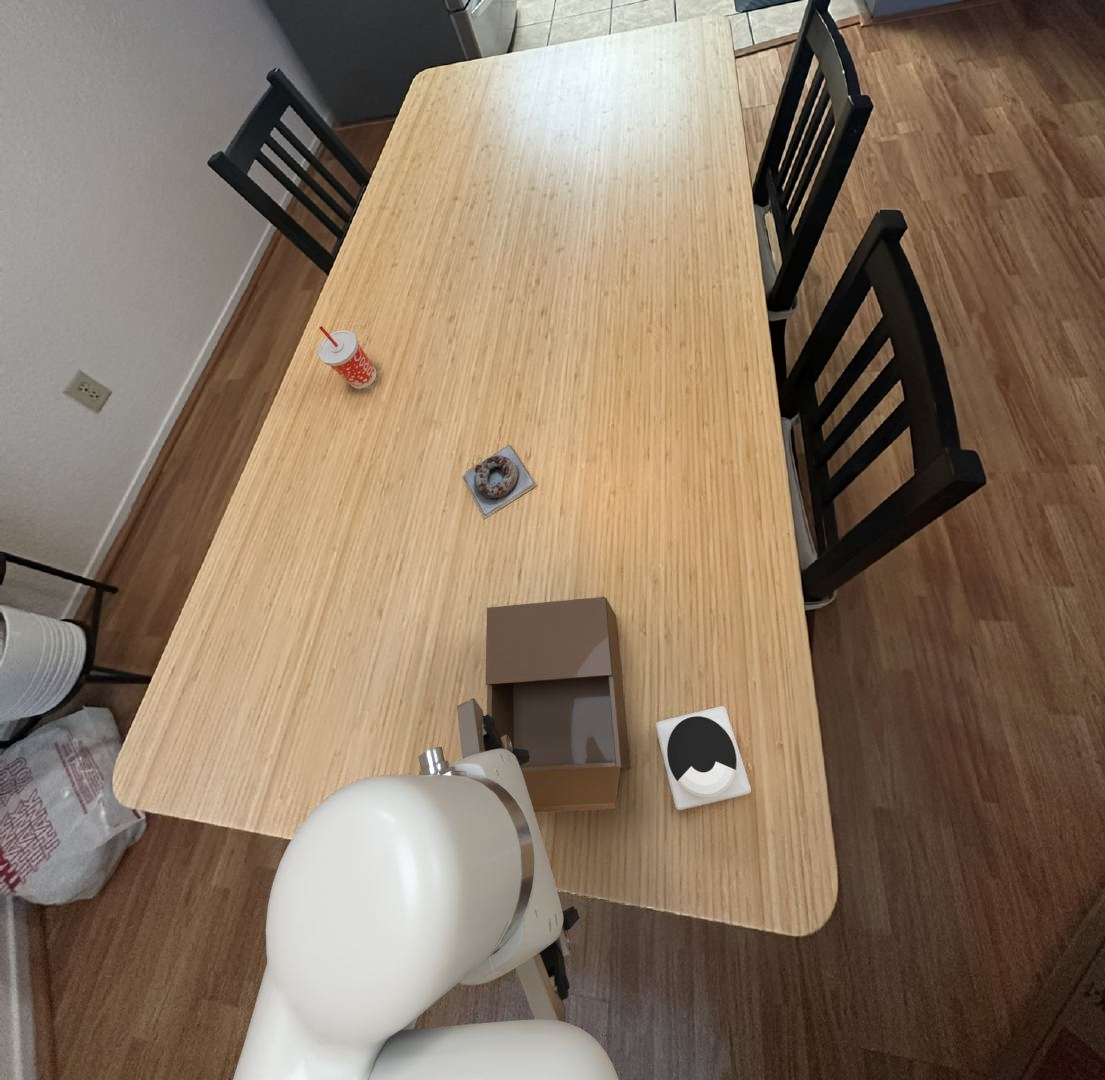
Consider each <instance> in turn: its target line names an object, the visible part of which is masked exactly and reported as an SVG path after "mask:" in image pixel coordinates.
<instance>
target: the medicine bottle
mask: <svg viewBox="0 0 1105 1080" xmlns="http://www.w3.org/2000/svg"><path fill="white" fill-rule="evenodd" d="M731 723H732V722H731V720H730V717H729V713H728V711H727V708H726V707H725V706H724V705H719V706H715V707H712V708H707V709H703V710H698V711H694V712H691V713H687V714H683V715H678V716H675V717H671V718H667V719H662V720H657V721H656V722H655V724H654V725H655V726H654V727H655V730H656V735H657V739H658V743H659V747H660V750H661V754H662V759H663V763H664V767H665V770H666V771H665V772H666V776H667V780H668V783H669V787H670V791H671V795H672V799H673V803H674V806H675V809H676V810H677V811H683V810H688V809H691V808H696V807H699V806H704V805H708V804H712V803H717V802H720V801H721V802H722V801H725V800H729V799H734V798H738V797H742V796H746V795H749V794H751V792H752V788H751V784H750V781H749V778H748V774H747V772H746V769H745V768H746V767H745V765H744V762H743V759H742V755H741V753H740V749H739V745H738V742H737V740H736V736H735V733H734V729H733V727H732V724H731Z"/></svg>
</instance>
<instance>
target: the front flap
mask: <svg viewBox="0 0 1105 1080" xmlns="http://www.w3.org/2000/svg"><path fill="white" fill-rule="evenodd" d="M522 774H523V777H524V780H525V783H526V787H527V790H528V793H529V796H530V800H531V803H532V806H533V810H534V813H535V814H536V813H553V812H556V813H557V812H576V811H577V812H579V811H598V810H599V811H600V810H615V809H616V803H617V796H618V790H619V789H618V788H619V783H620V775H621V769H620V766H615V767H597V768H578V769H560V770H542V771H524V772H522Z"/></svg>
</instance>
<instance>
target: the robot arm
mask: <svg viewBox="0 0 1105 1080" xmlns="http://www.w3.org/2000/svg"><path fill="white" fill-rule="evenodd" d="M456 708H457V709H456V711H457V719H458V728H459V737H460V747H461V756H462V758H461V759H459V760H456V761H453V762H451V763H449V761H448V760H445V755H444V750H443V747H442V746H438V747H434V748H431V749H429V750H426V751H424V752H422V753H421V754H419V755H418V761H419V766H420V772H418V773H419V774H381V775H374V776H369V777H363V778H360V779H357V780H354V781H352V782H349V783H348V784H346V785H344V786H342V787H340V788H339V789H337V790H336V791H334V792H333V793H331V794H330V795H328V796H327V797H326V798H325V799H324V800H323V801H322V802H320V803H319V804H318V805H317V806H316V807H315V808H314V809H313V810H312V811H311V812H310V813H309V815H308V816H306V818H305V819H304V820H303V822H302V823H301V825H299V827H298V829H297V830H296V831H295V833H294V835H293V836H292V838H291V840H290V841H289V843H288V845H287V847H286V849H285V851H284V853H283V855H282V857H281V859H280V861H279V864H278V867H277V870H276V873H275V876H274V878H273V881H272V884H271V889H270V895H269V899H268V903H267V910H266V922H265V950H266V951H265V953H266V961H267V963H266V966H265V968H264V972H263V976H262V979H261V982H260V987H259V990H258V993H257V997H256V1001H255V1003H254V1007H253V1011H252V1015H251V1018H250V1021H249V1025H248V1028H247V1029H248V1030H247V1032H246V1035H245V1038H244V1042H243V1047H242V1049H241V1053H240V1055H239V1059H238V1062H237V1066H236V1069H235V1072H234V1075H233V1078H232V1080H620V1079H619V1076H618V1074H617V1071H616V1069H615V1066H614V1064H613V1062H612V1061H611V1059H610V1056H609V1055H608V1053H607V1052H606V1050H605V1048H603V1046H602V1045H601V1044H600V1043H599V1041H597V1039H595V1037H593V1036H592V1034H590V1033H589V1032H587V1031H585V1030H584V1029H582V1028H581V1027H579V1026H576V1025H574V1024H572V1023H569V1022H566V1021H567V1020H566V1006H565V1003H564V1001H565V1000H566V999H568V998H569V990H570V981H569V979H568V976H567V971H566V964H565V957H567V956H569V955H572V945H571V938H570V934H569V930H571V929H572V928H573V927H574V925H575V924H576V923H577V922H578V921H579V919H580V915H579V911H578V909H577V908H575V906H571V907H568V908H566V909H564V910H563V908H562V904H561V900H560V896H559V895H560V894H559V892H558V888H557V885H556V882H555V878H554V874H553V871H552V868H551V863H550V860H549V857H548V854H547V850H546V847H545V844H544V840H543V837H542V834H541V833H542V832H541V830H540V827H539V824H538V820H537V817H536V812H535V813H534V810H533V806H532V803H531V800H530V796H529V793H528V790H527V787H526V783H525V780H524V777H523V774H522V771H521V768H520V766H521V765H523V764H525V763H527V762H529V758H530V755H529V752H528V750H525V749H518V748H516V749H514V748H513V745H512V743H511V740H510V738H509V736H508V735H505V736H502V737H500V735H499V733H498V731H497V729H496V727H495V722H494V719H493V718H492V717H490V715H489V714H487V713H486V714H484V710H483V709H482V707H481V706H480V704H479V703H478V702H477V700H476V699H475V698H474V697H472V698H470V699H468V700H466V701H464V702H462V703H460V704H458V705H457V707H456ZM513 970H515V973H516V976H517V979H518V982H519V983H520V986H521V990H522V992H523V994H524V997H525V1000H526V1002H527V1005H528V1007H529V1010H530V1012H531V1015H532V1018H533V1019H517V1020H505V1021H504V1020H503V1021H494V1022H491V1021H490V1022H479V1023H469V1024H457V1025H455V1024H454V1025H445V1026H433V1027H432V1026H431V1027H421V1028H415V1026H416V1024H417V1021H418V1018H419V1017H420V1016H421V1015H422V1014H424V1013H425V1012H426V1011H428V1009H429V1008H431V1007H432V1006H433V1005H434V1004H435V1003H436V1002H438V1001H439V1000H440V999H441V998H442V997H443V996H445V995H446V994H447V993H448V992H450V991H451V990H452V989H453V988H455V986H457V985H458V984H459V985H464V986H477V985H483V984H487V983H490V982H493V981H494V980H496V979H498V978H500V977H502V976H505V975H506V974H508V973H509V972H511V971H513Z"/></svg>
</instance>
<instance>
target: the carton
mask: <svg viewBox="0 0 1105 1080" xmlns="http://www.w3.org/2000/svg"><path fill="white" fill-rule="evenodd" d="M485 637H486V638H485V639H486V641H485V645H486V646H485V685H486V686H487V689H486V692H487V693H486V694H487V695H486V715H487V714H489V715H490V717H492V718H493V719H494V722H495V727H496V729H497V731H498V733H499V735H500V737H502V736H505V735H508V736H509V738H510V740H511V743H512V745H513V748H514V749H516V748H518V749H525V750H528V752H529V755H530V758H529V762H527V763H525V764H523V765H521V766H520V768H521V771H522V772H524V771H542V770H560V769H578V768H597V767H615V766H620V770H623V769H624V770H625V769H631V767H632V766H631V757H630V746H629V745H630V744H629V735H628V725H627V714H626V702H625V694H624V683H623V673H622V662H621V661H622V660H621V652H620V651H621V650H620V641H619V630H618V619H617V615H616V613H615V611H614V609H613V607H612V605H611V604H610V602H609V600H608V598H607V597H606V596H599V597H589V598H577V599H576V598H575V599H566V600H555V601H544V602H534V603H533V602H531V603H521V604H512V605H500V606H491V607H486V635H485Z"/></svg>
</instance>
